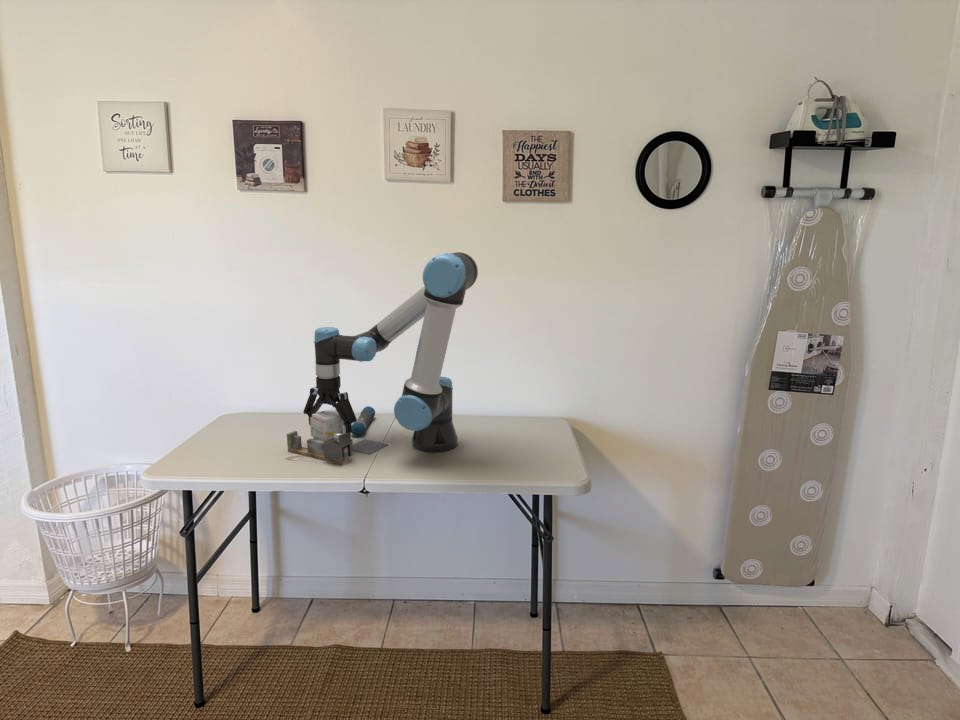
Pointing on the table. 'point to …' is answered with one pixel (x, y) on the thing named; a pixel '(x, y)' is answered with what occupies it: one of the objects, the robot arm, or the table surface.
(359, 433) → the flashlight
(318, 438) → the ink box
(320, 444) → the vise
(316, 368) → the robot arm
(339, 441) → the clip
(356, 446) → the mat
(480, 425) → the table surface
